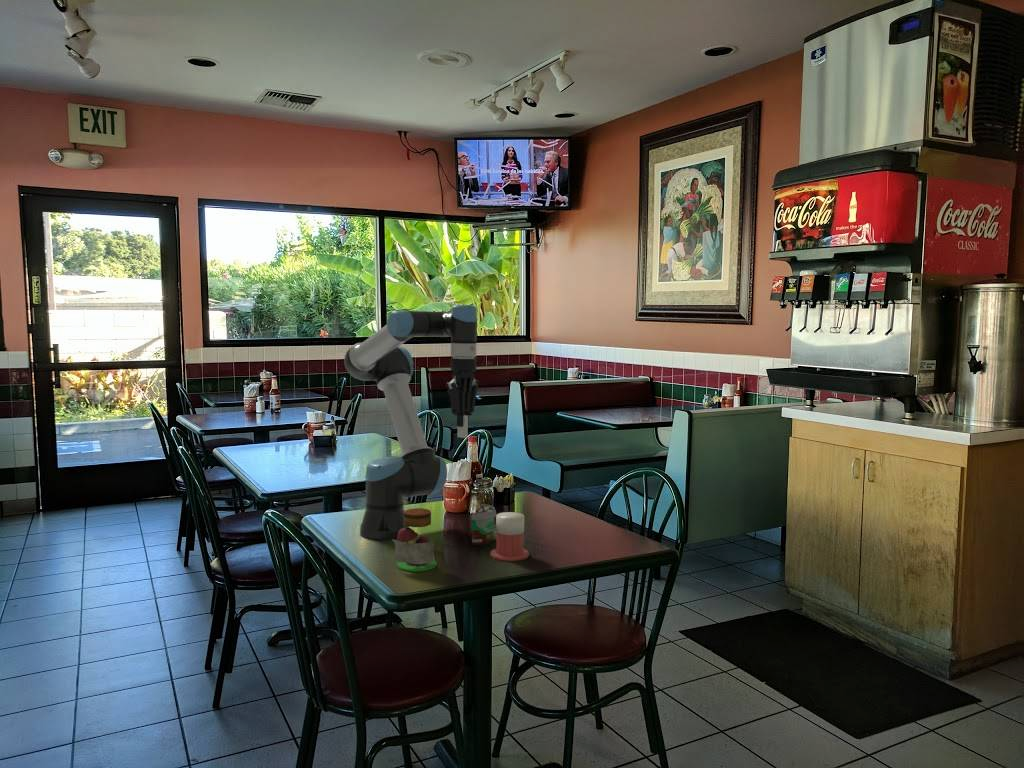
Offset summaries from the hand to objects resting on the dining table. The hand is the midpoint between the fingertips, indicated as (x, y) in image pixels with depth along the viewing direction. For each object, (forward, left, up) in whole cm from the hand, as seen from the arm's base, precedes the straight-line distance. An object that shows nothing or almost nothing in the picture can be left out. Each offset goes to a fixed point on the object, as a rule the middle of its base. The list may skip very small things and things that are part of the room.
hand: (462, 437), depth 222 cm
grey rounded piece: (+18, 0, -28) cm, 33 cm away
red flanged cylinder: (+18, 0, -32) cm, 37 cm away
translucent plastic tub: (+3, -24, -33) cm, 40 cm away
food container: (+4, +7, -33) cm, 33 cm away
